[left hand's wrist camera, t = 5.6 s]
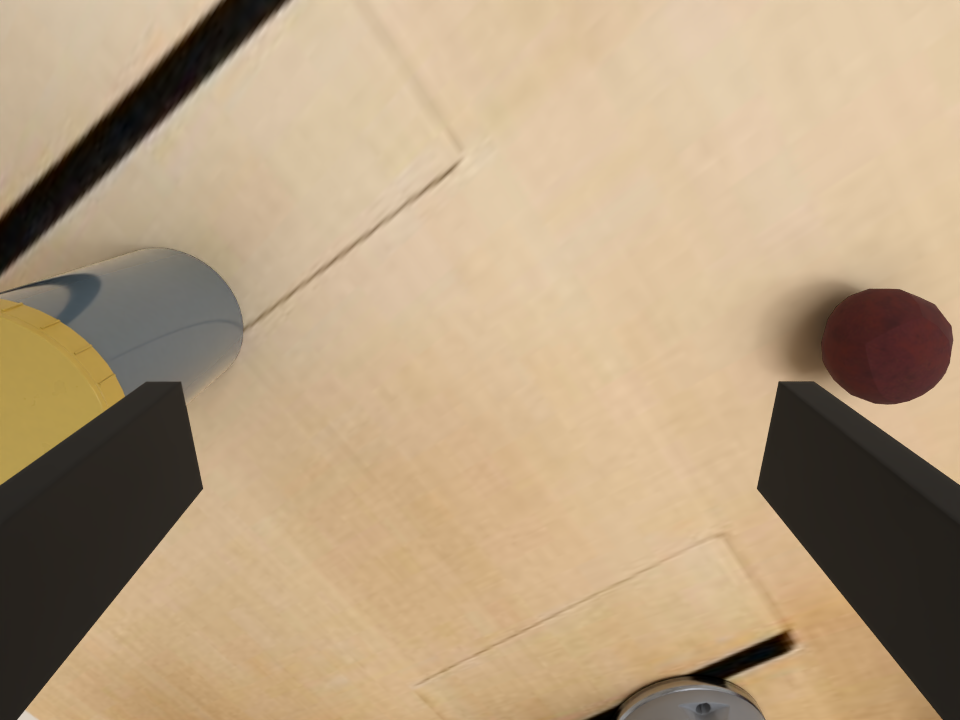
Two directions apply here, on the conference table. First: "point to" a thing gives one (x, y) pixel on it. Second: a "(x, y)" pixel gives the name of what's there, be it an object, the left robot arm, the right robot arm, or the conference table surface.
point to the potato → (887, 345)
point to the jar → (147, 316)
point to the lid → (45, 385)
